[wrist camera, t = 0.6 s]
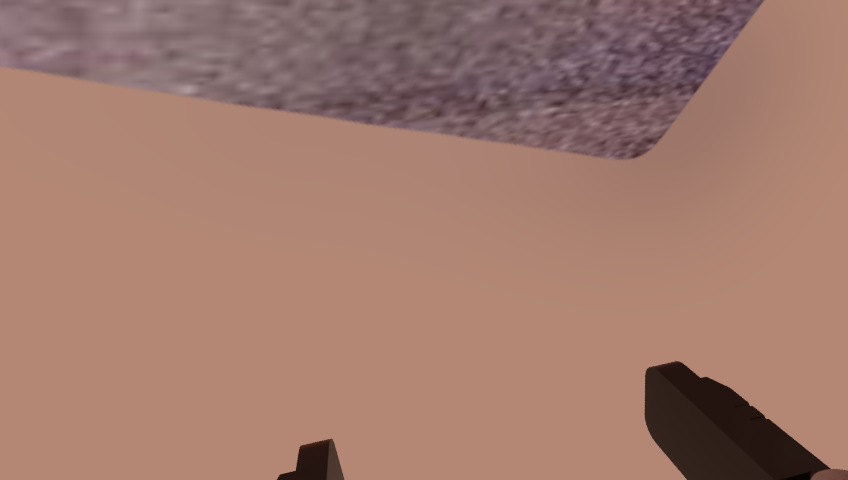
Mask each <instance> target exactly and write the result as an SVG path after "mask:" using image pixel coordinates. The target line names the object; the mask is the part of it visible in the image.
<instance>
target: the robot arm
mask: <svg viewBox="0 0 848 480" xmlns="http://www.w3.org/2000/svg"><path fill="white" fill-rule="evenodd" d="M645 421H646V425H647V427H648V430H649V432H650V434H651V436H652V438H653V439H654V441H655V442H656V443H657V445H658V446H659V447H660V448H661V449H662V451H663V452H664V453H665V454H666V455H667V456H668V458H669V459H670V460H671V461H672V462H673V463H674V465H675V466H676V467H677V468H678V469H679V471H680V472H681V473H682V474H683V475H684V477H685V478H686V479H687V480H848V471H846V470H840V469H830V468H829V467H828V466H827V465H825V464H824V463H823V462H822V461H820V460H819V459H818V458H817V457H815V456H814V455H813V454H812V453H810V452H809V451H808V450H806V449H805V448H804V447H803V446H802V445H800V444H799V443H798V442H797V441H795V440H794V439H793V438H792V437H790V436H789V435H788V434H787V433H785V432H784V431H783V430H782V429H780V428H779V427H778V426H777V425H776V424H774V423H773V422H772V421H771V420H769V419H766V418H765V416H764V415H763V414H762V413H760V412H759V411H758V410H757V409H756V408H754V407H753V406H750V405H749V403H748V402H747V401H746V400H744V399H743V398H742V397H741V396H739V395H738V394H737V393H736V392H734V391H733V390H732V389H731V388H729V387H727V386H725V385H723V384H720V383H718V382H716V381H714V380H712V379H710V378H708V377H703V378H700V377H699V376H697V375H696V374H695V373H694V372H693V371H691V370H690V369H689V368H688V367H687V366H685V365H684V364H683V363H681V362H678V361H675V362H671V363H667V364H662V365H658V366H653V367H649V368H648V369H647V371H646V375H645ZM277 480H344V477H343V473H342V470H341V466H340V462H339V459H338V455H337V451H336V448H335V444H334V442H333V440H332V439H328V440H324V441H319V442H315V443H310V444H306V445H302V446H300V449H299V454H298V460H297V467H296V471H293V472H289V473H285V474H281V475H279V477H278V479H277Z"/></svg>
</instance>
